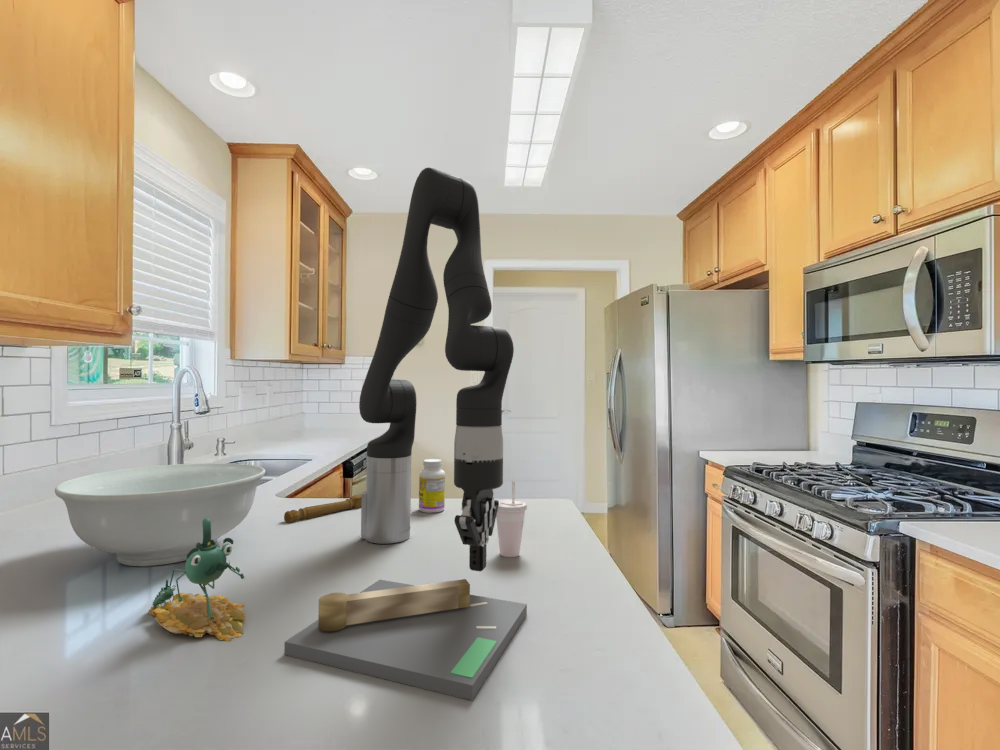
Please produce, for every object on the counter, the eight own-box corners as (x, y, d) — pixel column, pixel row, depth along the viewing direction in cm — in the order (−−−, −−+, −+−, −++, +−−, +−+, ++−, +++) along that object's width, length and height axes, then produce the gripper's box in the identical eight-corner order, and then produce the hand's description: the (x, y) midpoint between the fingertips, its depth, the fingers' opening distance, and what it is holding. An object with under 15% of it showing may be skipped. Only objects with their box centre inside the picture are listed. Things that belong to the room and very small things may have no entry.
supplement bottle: (419, 507, 129) (420, 458, 129) (444, 506, 129) (445, 458, 130) (417, 513, 122) (418, 462, 122) (444, 513, 123) (445, 462, 123)
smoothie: (523, 561, 90) (524, 484, 90) (489, 558, 91) (490, 482, 91) (528, 549, 96) (529, 478, 96) (496, 547, 97) (497, 476, 98)
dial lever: (318, 633, 59) (318, 606, 59) (318, 620, 62) (318, 594, 62) (471, 609, 66) (471, 585, 66) (463, 598, 69) (464, 576, 69)
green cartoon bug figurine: (203, 592, 75) (213, 497, 74) (271, 639, 65) (283, 530, 65) (129, 615, 67) (140, 509, 66) (194, 673, 57) (207, 549, 57)
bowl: (42, 552, 91) (45, 473, 91) (231, 519, 114) (232, 457, 115) (63, 607, 69) (67, 503, 69) (291, 552, 92) (293, 475, 93)
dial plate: (284, 654, 57) (284, 640, 58) (379, 589, 76) (379, 578, 76) (472, 700, 50) (472, 684, 50) (526, 614, 68) (526, 603, 69)
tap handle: (283, 510, 113) (385, 489, 137) (283, 523, 113) (385, 500, 137) (290, 512, 111) (392, 490, 135) (290, 525, 111) (392, 501, 135)
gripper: (472, 449, 82) (471, 553, 82) (437, 459, 70) (436, 582, 69) (514, 451, 80) (514, 558, 79) (486, 462, 67) (485, 589, 67)
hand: (477, 569), depth 74 cm, fingers closed
